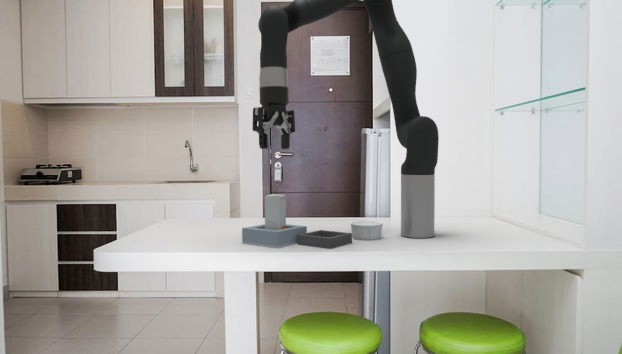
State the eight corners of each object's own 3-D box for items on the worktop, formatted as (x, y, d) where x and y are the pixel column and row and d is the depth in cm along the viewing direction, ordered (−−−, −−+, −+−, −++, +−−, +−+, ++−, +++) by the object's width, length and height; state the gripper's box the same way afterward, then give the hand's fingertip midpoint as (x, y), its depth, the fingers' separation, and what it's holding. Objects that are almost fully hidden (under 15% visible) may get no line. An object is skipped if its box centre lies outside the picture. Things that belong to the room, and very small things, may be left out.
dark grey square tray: (320, 239, 138) (320, 229, 138) (351, 242, 132) (351, 233, 132) (297, 244, 131) (297, 234, 130) (329, 248, 124) (329, 238, 124)
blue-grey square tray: (272, 237, 142) (272, 222, 142) (306, 241, 135) (306, 226, 135) (242, 243, 133) (242, 228, 133) (277, 248, 126) (276, 232, 125)
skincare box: (280, 242, 131) (280, 196, 130) (264, 242, 132) (264, 195, 131) (286, 238, 137) (286, 194, 136) (271, 238, 138) (270, 193, 137)
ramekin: (389, 238, 139) (389, 223, 139) (364, 242, 134) (364, 225, 134) (368, 234, 146) (368, 219, 146) (343, 237, 141) (343, 222, 141)
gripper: (266, 82, 125) (267, 148, 125) (302, 87, 136) (302, 148, 137) (244, 85, 129) (245, 149, 130) (280, 90, 141) (281, 149, 141)
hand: (274, 148), depth 133 cm, fingers open, 8 cm apart
